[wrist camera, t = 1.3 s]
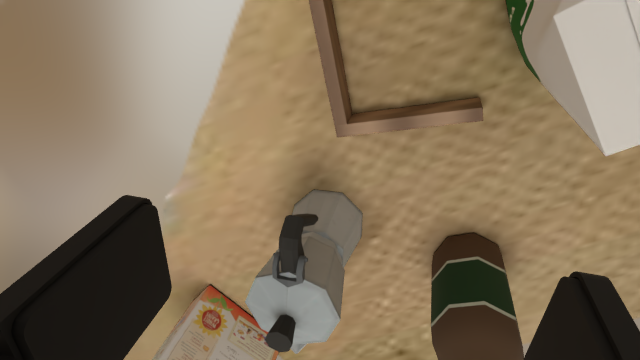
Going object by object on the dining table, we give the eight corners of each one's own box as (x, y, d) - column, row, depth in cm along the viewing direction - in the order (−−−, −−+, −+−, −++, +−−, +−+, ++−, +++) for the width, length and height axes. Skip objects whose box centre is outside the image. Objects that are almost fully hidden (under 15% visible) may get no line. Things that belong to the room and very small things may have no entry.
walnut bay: (471, -82, 31) (474, -85, 28) (479, 109, 38) (483, 120, 35) (310, -39, 35) (300, -39, 33) (343, 126, 42) (337, 137, 39)
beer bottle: (512, 236, 43) (583, 489, 22) (496, 290, 46) (544, 549, 26) (437, 225, 44) (438, 451, 24) (427, 278, 48) (421, 513, 28)
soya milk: (646, 27, 32) (893, 105, 14) (525, 82, 35) (608, 194, 18) (612, -85, 29) (864, -149, 12) (486, -13, 33) (540, 16, 16)
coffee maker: (362, 267, 50) (330, 404, 34) (294, 257, 52) (235, 382, 36) (368, 158, 43) (331, 270, 27) (289, 151, 45) (213, 251, 29)
